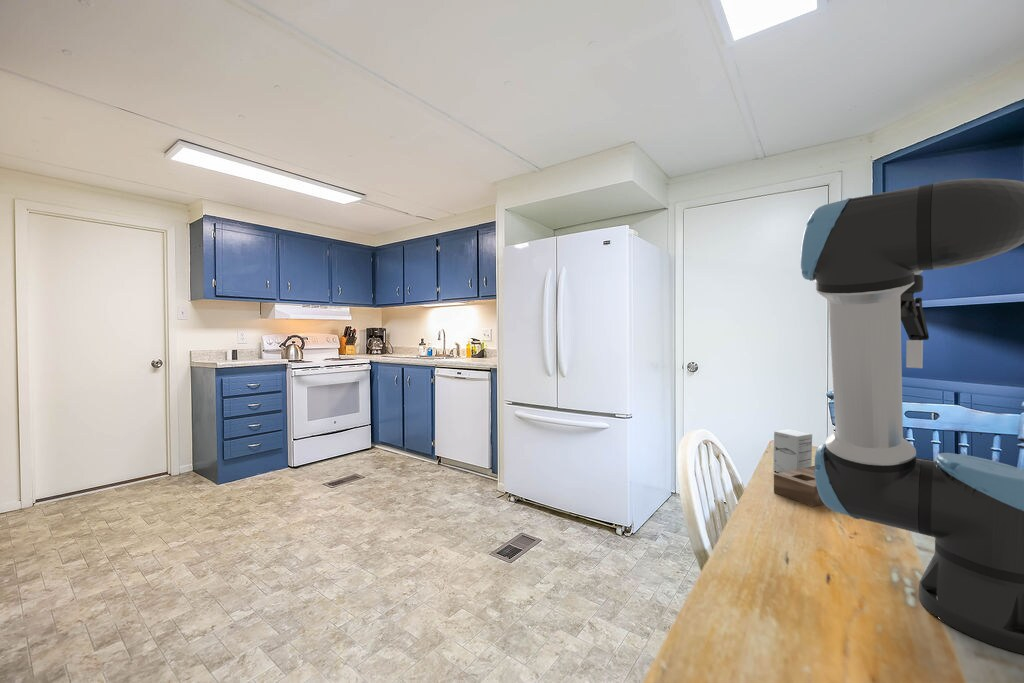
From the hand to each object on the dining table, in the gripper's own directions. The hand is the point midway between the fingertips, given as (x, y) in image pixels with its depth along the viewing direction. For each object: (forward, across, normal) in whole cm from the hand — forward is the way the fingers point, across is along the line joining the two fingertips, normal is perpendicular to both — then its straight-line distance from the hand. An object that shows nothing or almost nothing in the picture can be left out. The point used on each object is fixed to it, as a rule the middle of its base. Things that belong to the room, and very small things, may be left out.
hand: (898, 368), depth 95 cm
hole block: (+34, -2, +17) cm, 38 cm away
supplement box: (+35, +10, +30) cm, 47 cm away
